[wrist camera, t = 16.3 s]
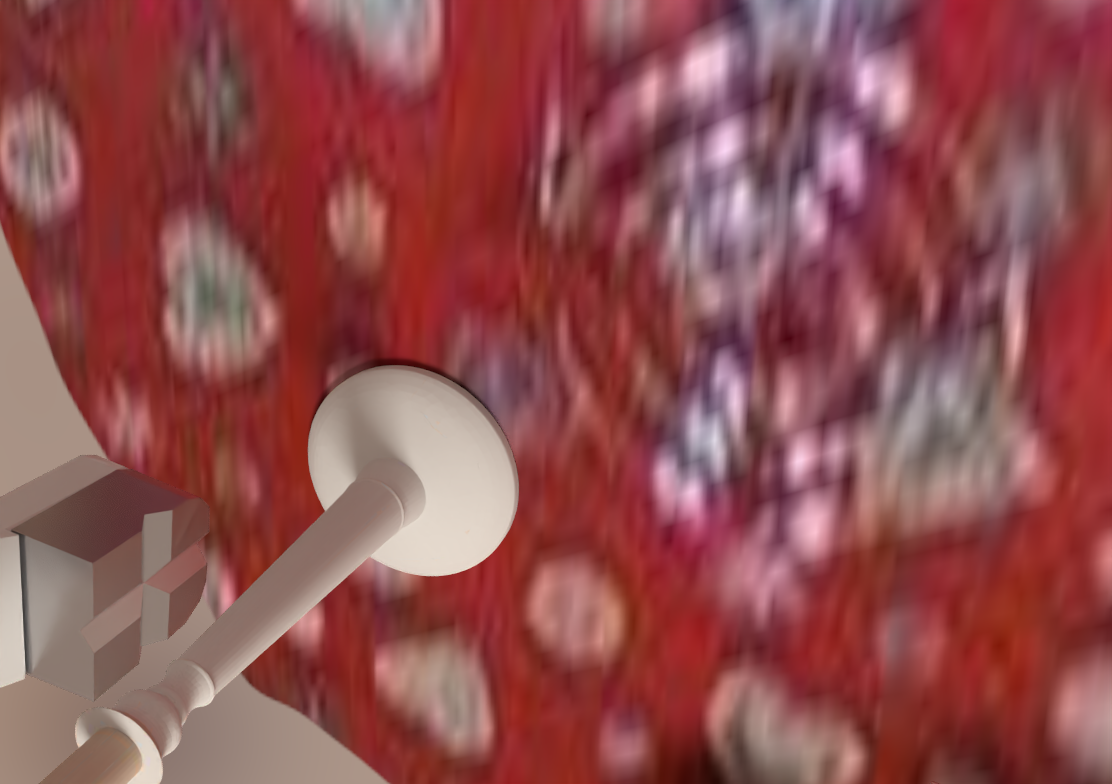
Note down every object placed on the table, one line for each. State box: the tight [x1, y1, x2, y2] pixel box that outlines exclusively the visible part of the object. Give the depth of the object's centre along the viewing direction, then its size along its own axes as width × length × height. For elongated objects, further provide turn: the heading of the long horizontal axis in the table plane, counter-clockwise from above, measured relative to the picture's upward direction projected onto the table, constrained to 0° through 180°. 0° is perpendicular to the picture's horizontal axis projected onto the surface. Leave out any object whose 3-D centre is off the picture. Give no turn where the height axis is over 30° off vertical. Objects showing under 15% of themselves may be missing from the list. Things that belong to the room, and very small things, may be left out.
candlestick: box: [39, 365, 519, 784], centre depth 38 cm, size 13×13×30 cm
